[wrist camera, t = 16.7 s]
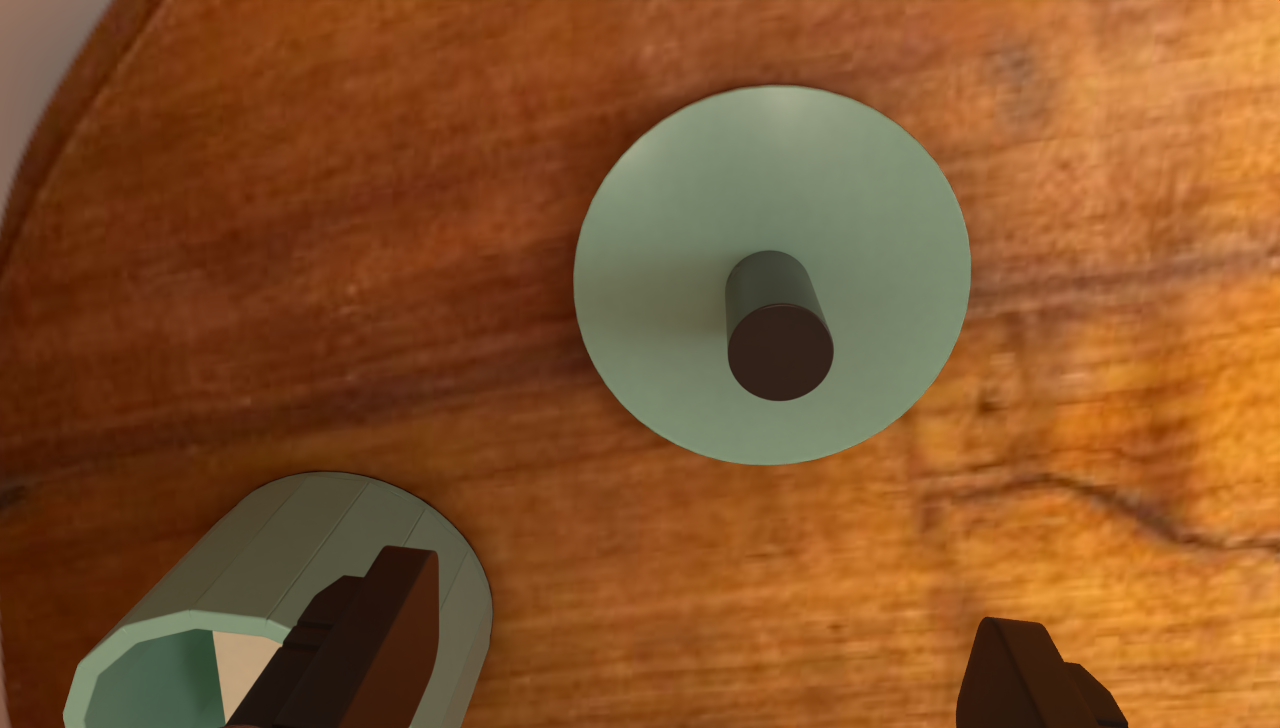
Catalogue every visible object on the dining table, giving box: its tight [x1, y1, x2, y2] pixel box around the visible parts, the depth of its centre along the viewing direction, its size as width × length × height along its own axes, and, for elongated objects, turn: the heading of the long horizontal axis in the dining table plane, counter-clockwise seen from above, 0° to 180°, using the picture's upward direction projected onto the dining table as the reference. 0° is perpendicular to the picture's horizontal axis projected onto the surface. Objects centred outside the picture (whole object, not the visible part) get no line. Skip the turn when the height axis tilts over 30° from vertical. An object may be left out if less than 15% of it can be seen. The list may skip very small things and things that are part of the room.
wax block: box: [213, 631, 282, 723], centre depth 28 cm, size 4×4×4 cm
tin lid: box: [573, 84, 971, 465], centre depth 22 cm, size 11×11×6 cm
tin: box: [63, 472, 493, 728], centre depth 27 cm, size 10×10×7 cm
